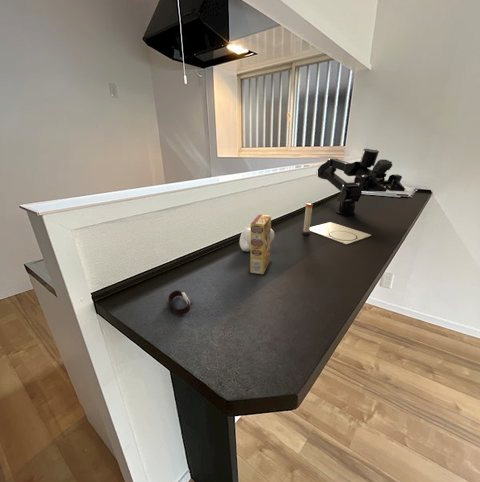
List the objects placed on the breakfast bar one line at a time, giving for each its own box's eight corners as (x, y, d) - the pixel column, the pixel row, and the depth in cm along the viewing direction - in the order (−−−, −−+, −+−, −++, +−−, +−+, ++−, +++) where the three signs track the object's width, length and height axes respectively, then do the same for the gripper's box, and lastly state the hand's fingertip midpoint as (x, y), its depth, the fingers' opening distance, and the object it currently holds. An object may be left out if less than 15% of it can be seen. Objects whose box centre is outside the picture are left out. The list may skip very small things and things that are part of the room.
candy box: (263, 275, 76) (265, 224, 69) (249, 273, 77) (250, 223, 70) (269, 262, 83) (272, 215, 77) (256, 260, 84) (258, 213, 78)
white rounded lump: (230, 251, 91) (229, 226, 87) (252, 241, 99) (253, 218, 95) (255, 261, 84) (256, 234, 80) (277, 249, 92) (279, 225, 88)
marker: (301, 233, 106) (304, 203, 101) (305, 232, 107) (309, 202, 102) (306, 235, 104) (309, 204, 99) (310, 234, 105) (314, 203, 100)
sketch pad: (305, 229, 111) (305, 228, 111) (330, 222, 119) (330, 221, 119) (346, 244, 96) (346, 243, 96) (371, 235, 104) (371, 234, 104)
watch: (195, 312, 60) (194, 299, 59) (176, 319, 58) (174, 305, 57) (183, 296, 66) (181, 283, 65) (164, 302, 64) (162, 289, 62)
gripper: (357, 157, 107) (385, 169, 95) (392, 157, 112) (423, 169, 100) (348, 183, 113) (373, 198, 101) (382, 183, 119) (409, 197, 107)
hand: (395, 190), depth 102 cm, fingers open, 9 cm apart
